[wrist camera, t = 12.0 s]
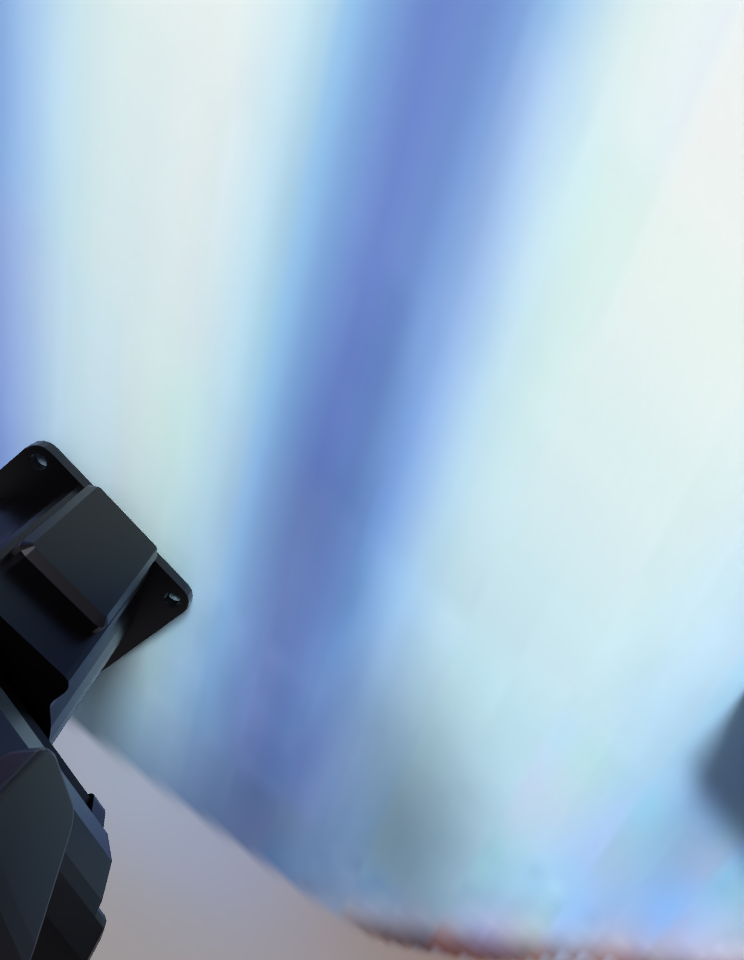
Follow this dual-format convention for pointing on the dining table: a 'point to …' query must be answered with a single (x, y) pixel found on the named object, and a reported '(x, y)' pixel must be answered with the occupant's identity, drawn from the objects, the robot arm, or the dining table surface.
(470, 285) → the dining table surface
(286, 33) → the dining table surface
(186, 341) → the dining table surface
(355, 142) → the dining table surface
